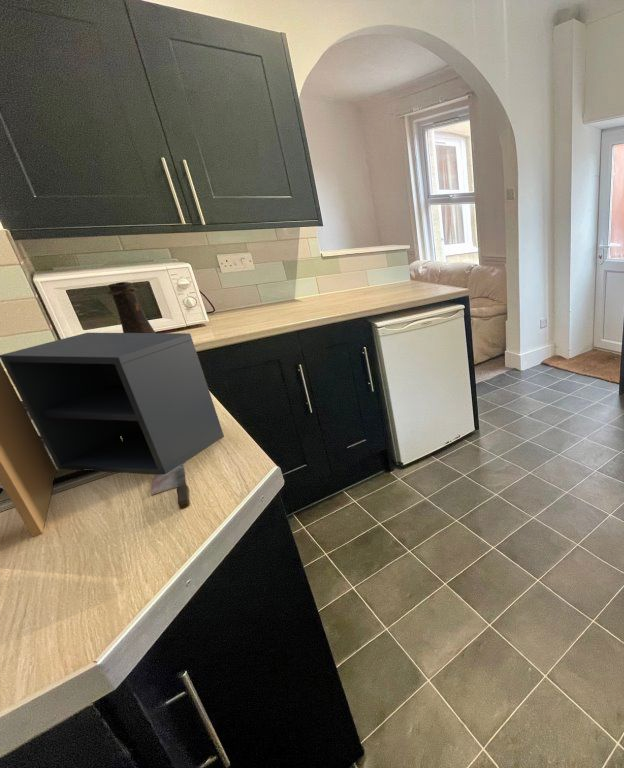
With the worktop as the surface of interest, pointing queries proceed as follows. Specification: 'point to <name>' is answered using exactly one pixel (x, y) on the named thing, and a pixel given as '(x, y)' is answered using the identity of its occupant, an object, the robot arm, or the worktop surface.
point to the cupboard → (117, 400)
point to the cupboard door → (23, 460)
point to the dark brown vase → (129, 309)
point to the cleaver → (172, 484)
